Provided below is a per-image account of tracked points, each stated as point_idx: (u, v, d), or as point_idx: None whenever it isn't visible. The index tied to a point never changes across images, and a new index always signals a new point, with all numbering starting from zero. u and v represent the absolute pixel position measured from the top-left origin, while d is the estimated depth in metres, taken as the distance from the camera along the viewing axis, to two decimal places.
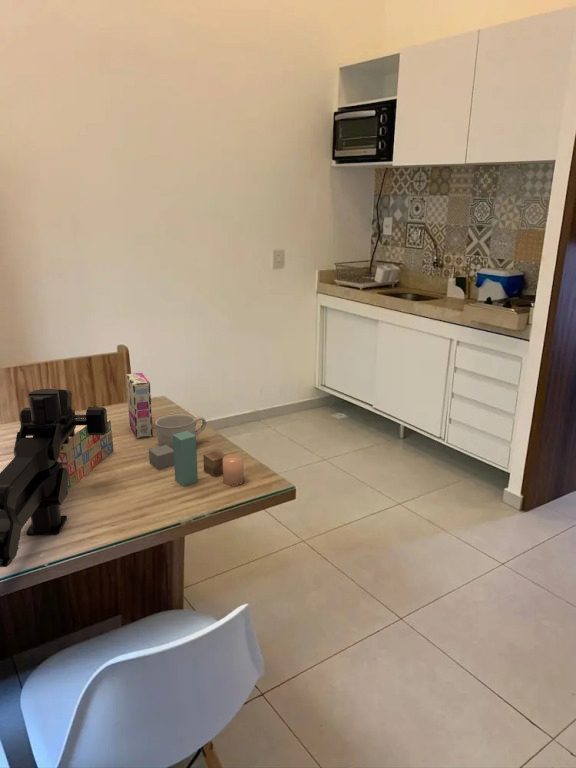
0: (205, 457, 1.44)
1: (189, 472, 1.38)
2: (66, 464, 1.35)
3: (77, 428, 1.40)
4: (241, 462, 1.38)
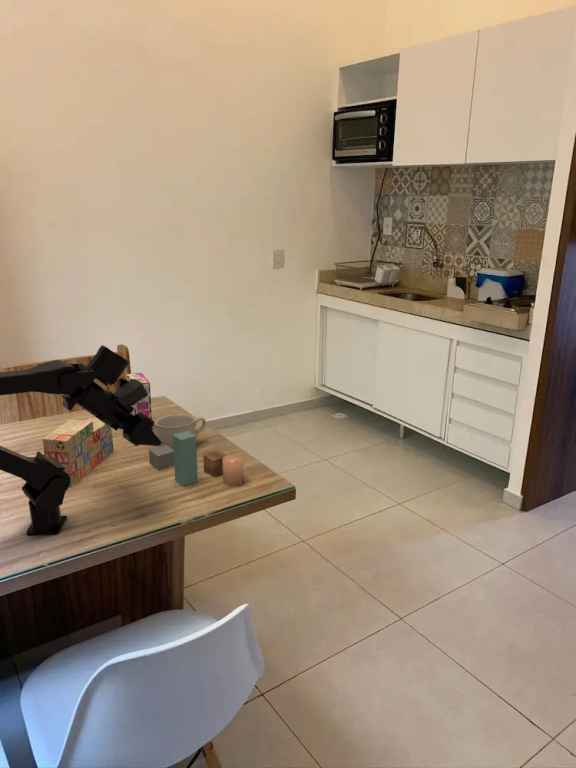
0: (205, 457, 1.44)
1: (189, 472, 1.38)
2: (67, 464, 1.35)
3: (78, 428, 1.40)
4: (241, 462, 1.38)
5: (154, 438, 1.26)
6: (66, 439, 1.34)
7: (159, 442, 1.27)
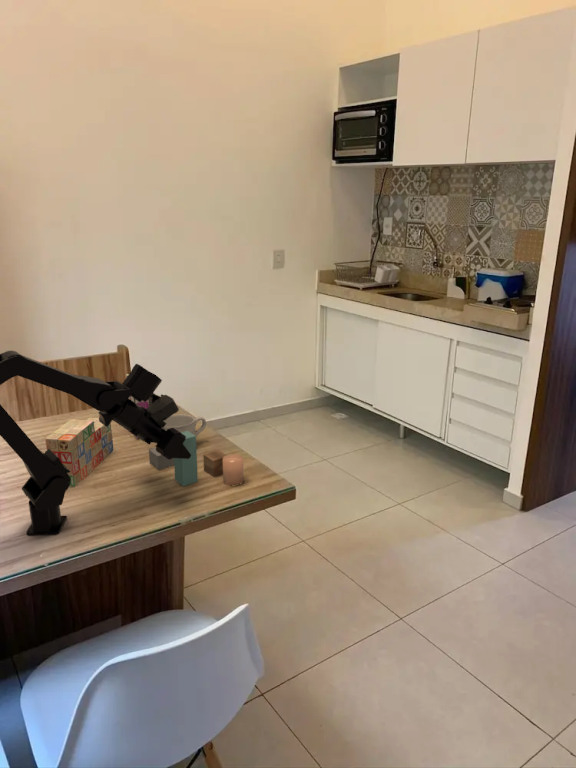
0: (205, 457, 1.44)
1: (189, 472, 1.38)
2: (70, 463, 1.35)
3: (80, 427, 1.40)
4: (241, 462, 1.38)
5: (185, 451, 1.31)
6: (69, 439, 1.34)
7: (189, 455, 1.33)
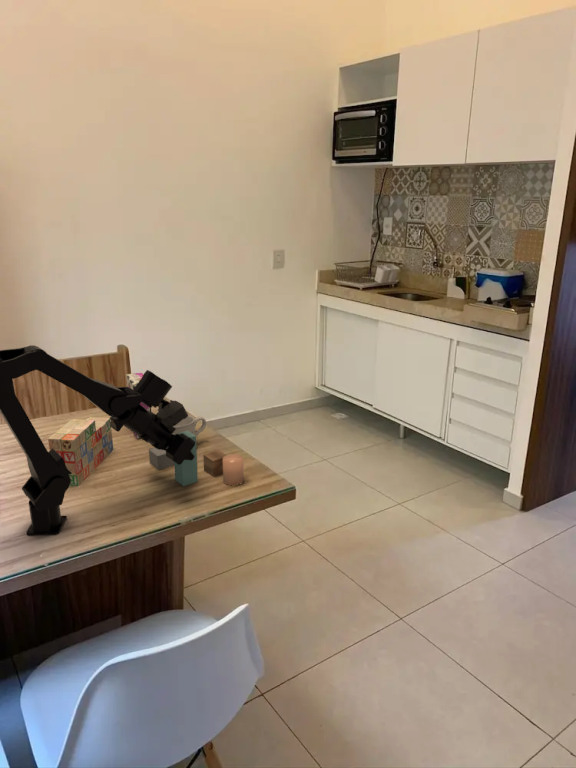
0: (205, 457, 1.44)
1: (189, 472, 1.38)
2: (74, 463, 1.36)
3: (82, 427, 1.41)
4: (241, 462, 1.38)
5: (188, 453, 1.35)
6: (72, 438, 1.35)
7: (192, 456, 1.37)
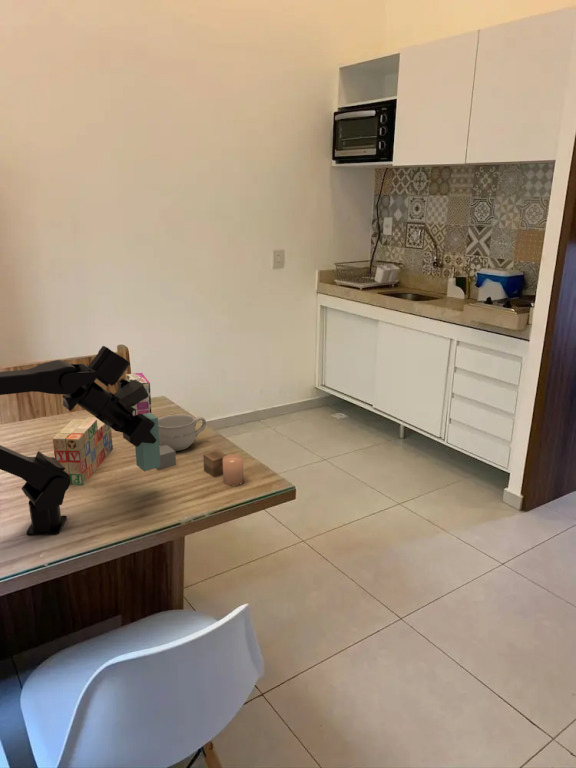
0: (205, 457, 1.44)
1: (151, 456, 1.30)
2: (79, 462, 1.36)
3: (85, 426, 1.41)
4: (241, 462, 1.38)
5: (149, 436, 1.27)
6: (77, 437, 1.35)
7: (154, 440, 1.29)
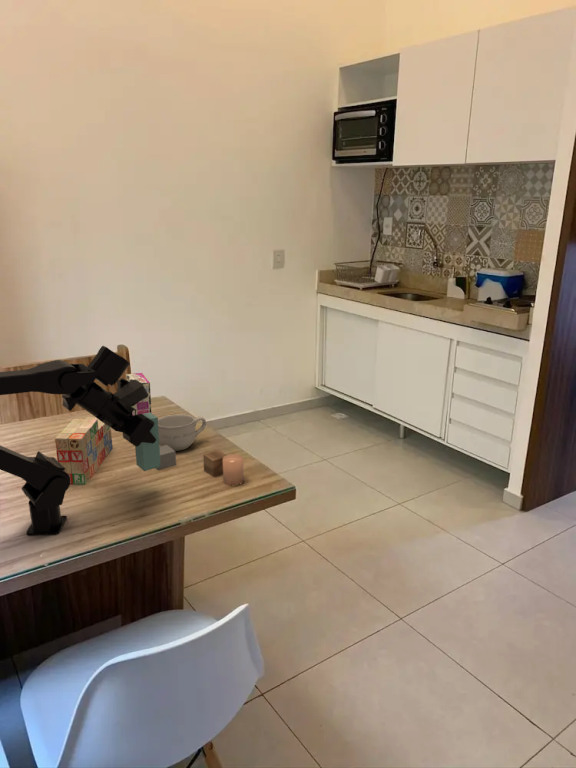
0: (205, 457, 1.44)
1: (151, 456, 1.30)
2: (81, 461, 1.36)
3: (86, 426, 1.41)
4: (241, 462, 1.38)
5: (149, 435, 1.27)
6: (80, 437, 1.35)
7: (154, 439, 1.29)
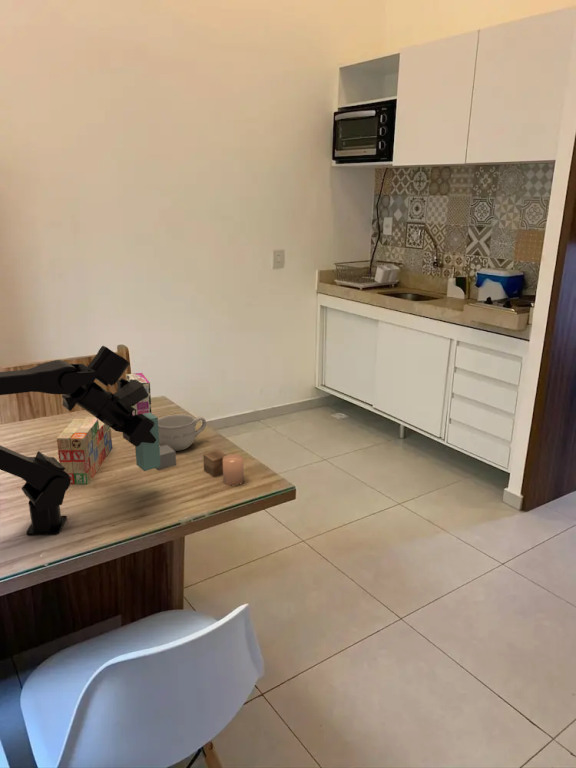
0: (205, 457, 1.44)
1: (151, 456, 1.30)
2: (83, 461, 1.37)
3: (87, 425, 1.42)
4: (241, 462, 1.38)
5: (149, 435, 1.27)
6: (82, 437, 1.36)
7: (154, 439, 1.29)
